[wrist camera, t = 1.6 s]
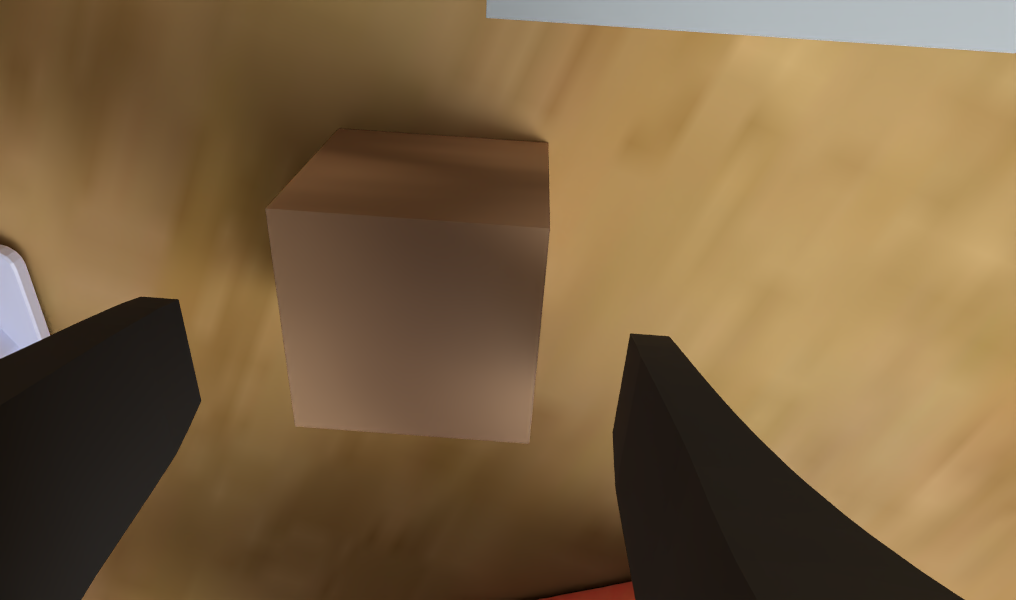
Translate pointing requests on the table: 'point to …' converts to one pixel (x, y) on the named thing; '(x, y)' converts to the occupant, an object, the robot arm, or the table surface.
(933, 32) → the plinth
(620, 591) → the cracker box
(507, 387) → the walnut block
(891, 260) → the table surface
